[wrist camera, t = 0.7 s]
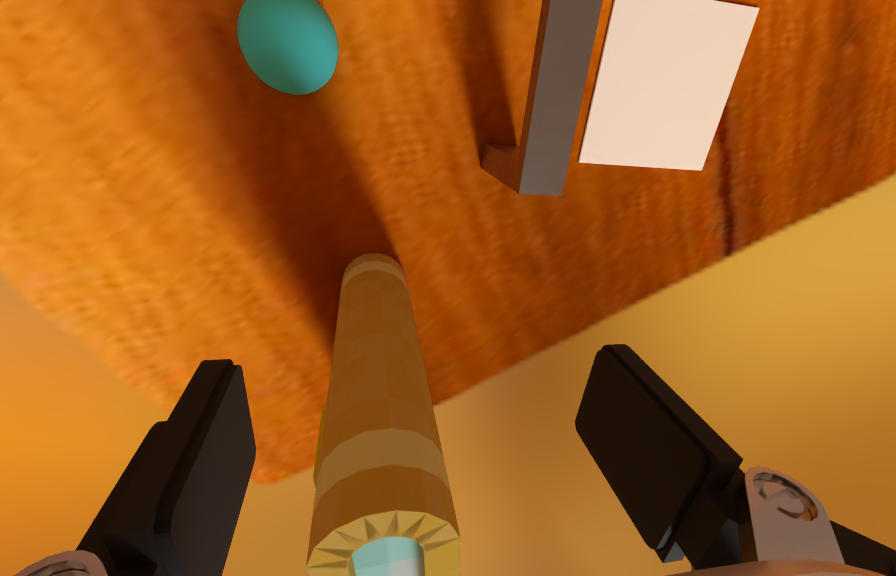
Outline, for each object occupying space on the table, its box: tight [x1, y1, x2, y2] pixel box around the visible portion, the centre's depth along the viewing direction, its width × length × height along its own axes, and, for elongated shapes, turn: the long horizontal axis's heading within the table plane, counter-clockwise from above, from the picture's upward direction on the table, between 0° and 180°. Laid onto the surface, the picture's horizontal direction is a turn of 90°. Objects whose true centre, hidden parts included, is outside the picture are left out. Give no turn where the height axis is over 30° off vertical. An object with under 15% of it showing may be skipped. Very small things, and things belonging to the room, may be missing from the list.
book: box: [306, 253, 460, 576], centre depth 29 cm, size 17×7×25 cm, turn 0°
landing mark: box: [578, 0, 760, 170], centre depth 34 cm, size 13×13×1 cm
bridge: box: [481, 0, 603, 196], centre depth 27 cm, size 3×15×10 cm, turn 174°
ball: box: [237, 0, 338, 95], centre depth 25 cm, size 6×6×6 cm
